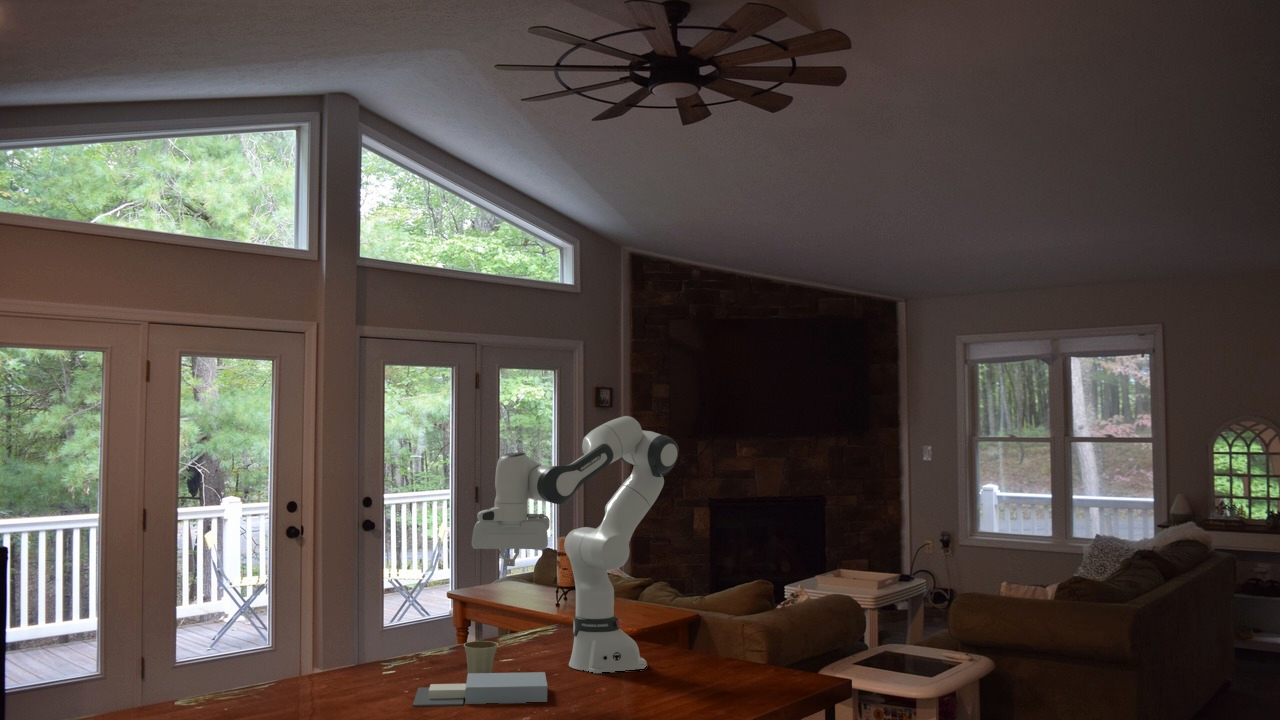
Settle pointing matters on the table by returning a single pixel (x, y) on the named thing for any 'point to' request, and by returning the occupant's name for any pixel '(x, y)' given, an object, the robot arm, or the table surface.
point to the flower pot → (480, 656)
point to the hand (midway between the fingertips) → (509, 566)
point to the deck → (506, 688)
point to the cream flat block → (447, 691)
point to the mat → (424, 700)
